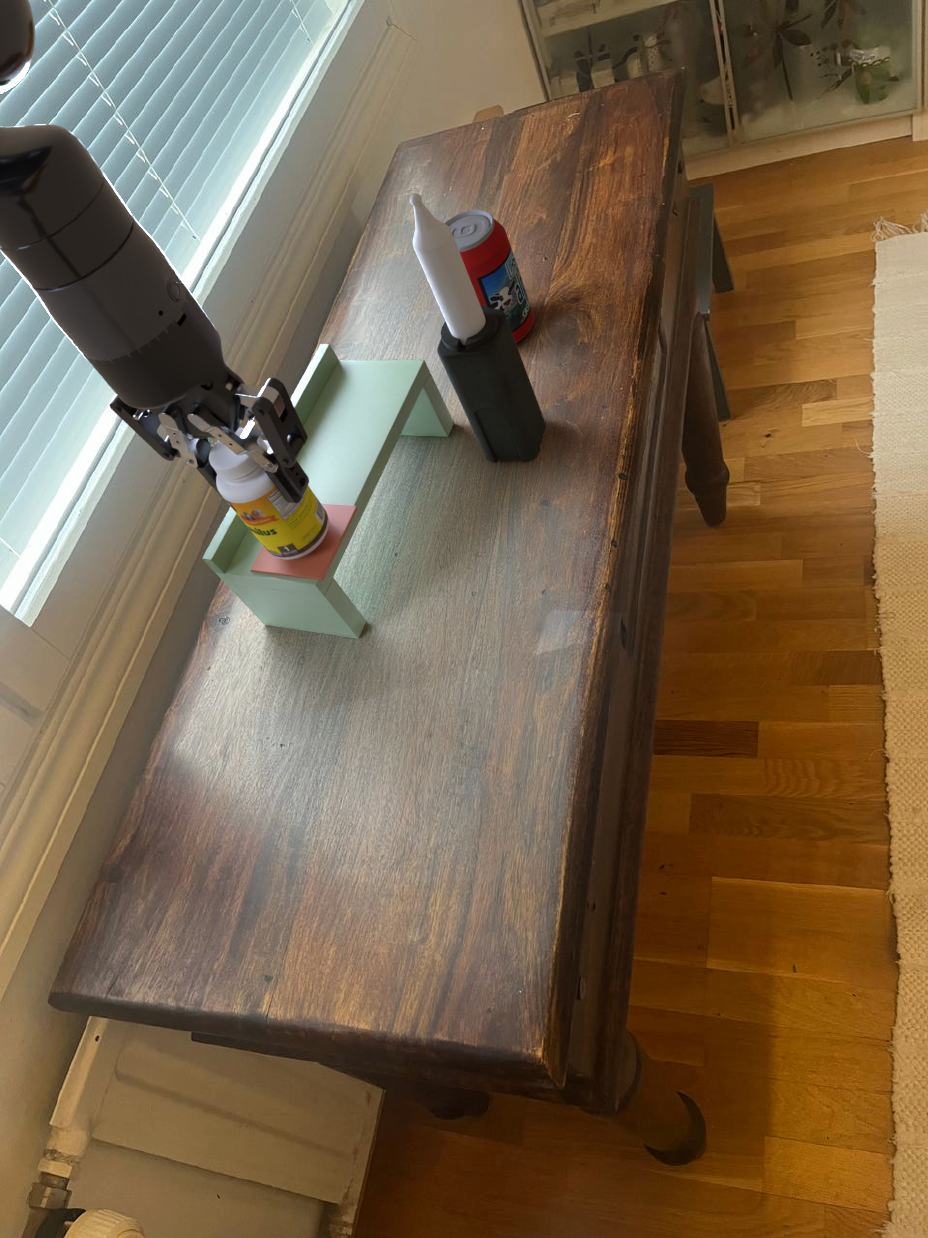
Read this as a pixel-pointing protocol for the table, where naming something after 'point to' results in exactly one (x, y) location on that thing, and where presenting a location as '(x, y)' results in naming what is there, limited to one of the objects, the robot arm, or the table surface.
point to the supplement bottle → (268, 504)
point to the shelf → (331, 486)
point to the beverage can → (492, 267)
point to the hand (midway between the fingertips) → (265, 490)
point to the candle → (478, 350)
